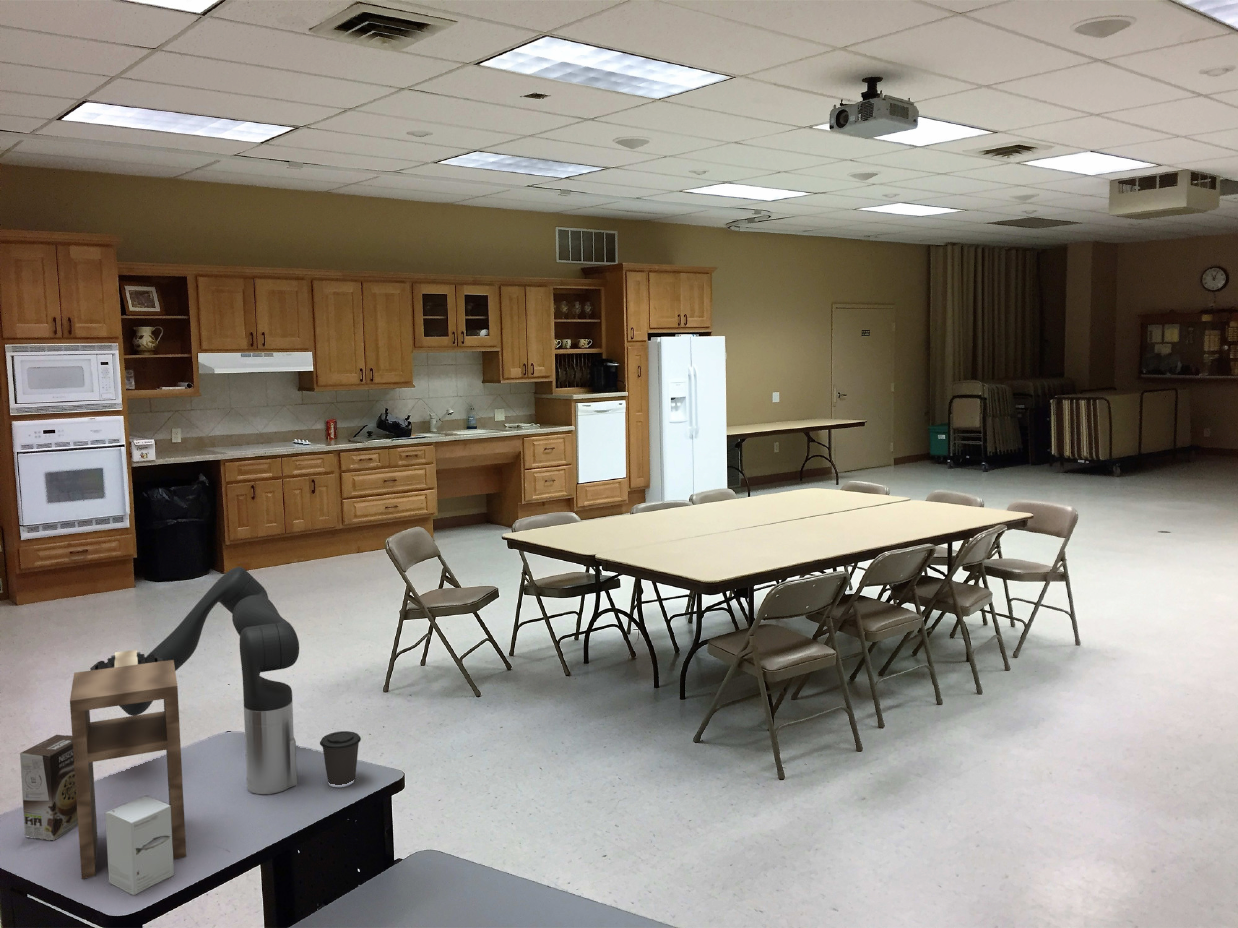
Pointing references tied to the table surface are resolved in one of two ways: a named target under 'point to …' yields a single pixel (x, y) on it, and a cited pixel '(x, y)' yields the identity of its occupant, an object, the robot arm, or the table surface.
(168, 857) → the supplement box
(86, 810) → the walnut rack
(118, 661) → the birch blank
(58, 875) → the table surface
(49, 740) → the coffee box
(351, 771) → the coffee cup
